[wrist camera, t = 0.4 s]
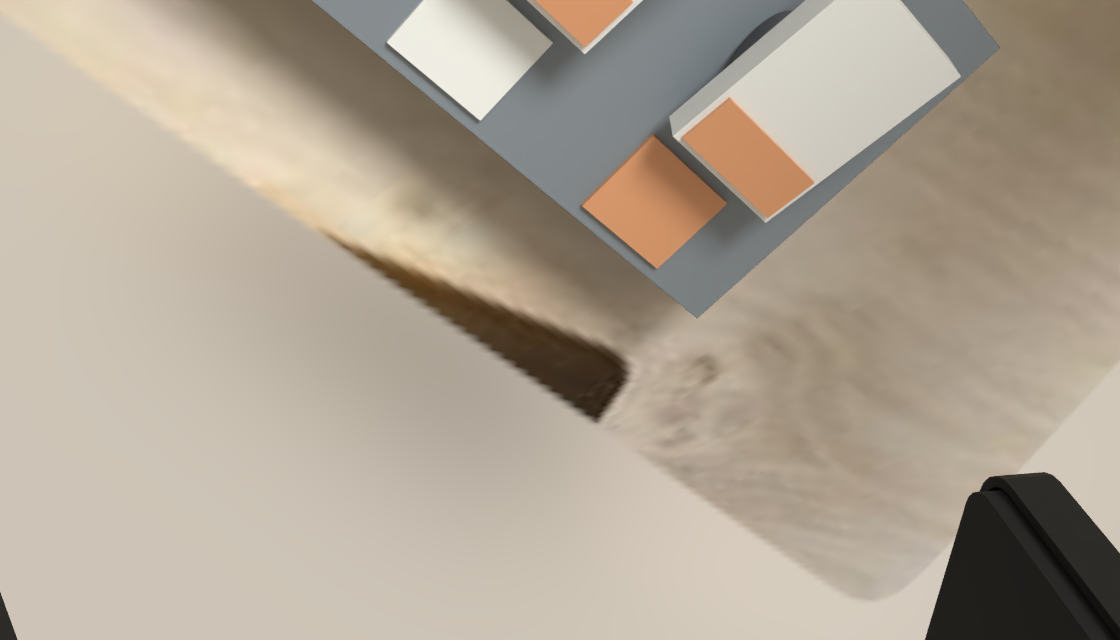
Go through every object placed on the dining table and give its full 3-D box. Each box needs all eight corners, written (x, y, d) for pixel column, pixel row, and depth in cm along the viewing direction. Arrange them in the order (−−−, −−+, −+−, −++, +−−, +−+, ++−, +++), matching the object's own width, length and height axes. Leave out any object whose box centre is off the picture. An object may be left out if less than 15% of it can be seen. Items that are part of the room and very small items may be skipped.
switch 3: (851, -63, 29) (873, -29, 27) (937, 40, 31) (962, 79, 29) (665, 97, 32) (673, 138, 31) (754, 181, 34) (766, 225, 32)
